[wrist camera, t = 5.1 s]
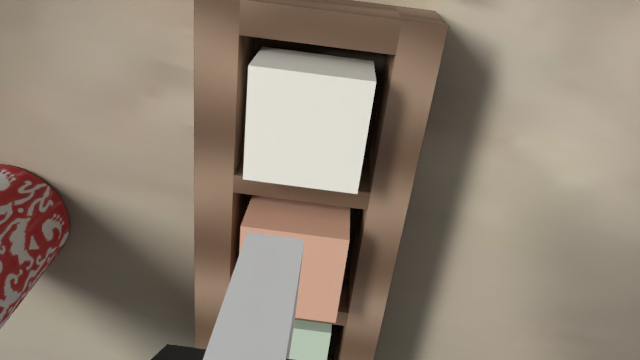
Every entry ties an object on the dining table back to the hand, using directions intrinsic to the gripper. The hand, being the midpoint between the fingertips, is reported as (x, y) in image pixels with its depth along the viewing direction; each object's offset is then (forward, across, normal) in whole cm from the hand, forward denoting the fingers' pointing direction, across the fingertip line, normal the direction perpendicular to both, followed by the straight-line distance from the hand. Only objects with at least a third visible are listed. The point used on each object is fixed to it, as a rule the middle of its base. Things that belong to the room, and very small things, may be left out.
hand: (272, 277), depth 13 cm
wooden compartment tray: (+16, 0, -8) cm, 18 cm away
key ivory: (+14, 0, 0) cm, 14 cm away
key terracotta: (+14, 0, -8) cm, 16 cm away
